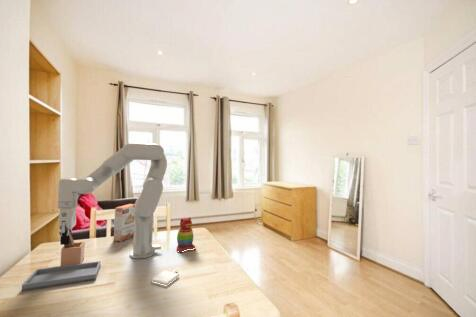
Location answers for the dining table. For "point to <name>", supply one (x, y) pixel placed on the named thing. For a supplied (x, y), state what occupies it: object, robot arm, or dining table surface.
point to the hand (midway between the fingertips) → (66, 242)
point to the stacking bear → (185, 235)
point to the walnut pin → (71, 242)
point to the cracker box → (124, 222)
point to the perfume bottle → (165, 277)
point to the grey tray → (62, 275)
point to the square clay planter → (73, 254)
